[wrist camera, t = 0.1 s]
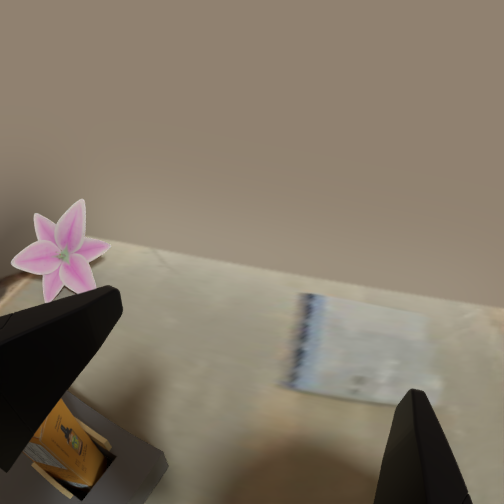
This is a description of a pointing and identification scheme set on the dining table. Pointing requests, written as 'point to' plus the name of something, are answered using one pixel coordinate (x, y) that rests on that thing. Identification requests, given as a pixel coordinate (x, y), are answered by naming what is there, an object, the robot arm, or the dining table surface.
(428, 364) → the dining table surface
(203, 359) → the dining table surface
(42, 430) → the supplement box
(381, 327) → the dining table surface
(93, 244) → the lily
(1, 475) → the block
